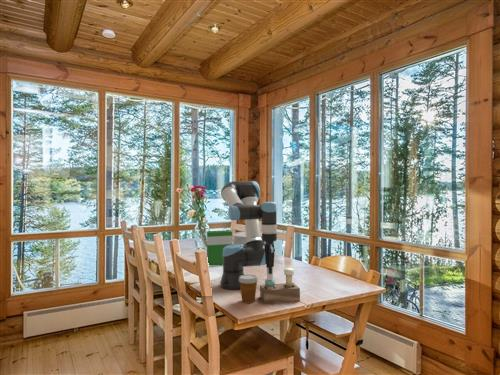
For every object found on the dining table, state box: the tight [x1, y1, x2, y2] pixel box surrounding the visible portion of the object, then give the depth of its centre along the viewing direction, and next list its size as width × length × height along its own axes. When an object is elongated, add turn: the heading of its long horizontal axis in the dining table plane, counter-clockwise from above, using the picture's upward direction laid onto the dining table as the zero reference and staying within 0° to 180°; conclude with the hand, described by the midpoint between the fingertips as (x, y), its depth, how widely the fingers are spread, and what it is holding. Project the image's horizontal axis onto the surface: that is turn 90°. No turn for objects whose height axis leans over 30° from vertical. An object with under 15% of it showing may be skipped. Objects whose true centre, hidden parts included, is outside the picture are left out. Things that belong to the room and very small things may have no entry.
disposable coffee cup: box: [239, 274, 259, 304], centre depth 169 cm, size 10×10×12 cm
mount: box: [259, 282, 301, 304], centre depth 172 cm, size 10×18×6 cm, turn 100°
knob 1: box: [264, 278, 276, 289], centre depth 171 cm, size 5×5×9 cm
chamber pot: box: [232, 229, 266, 246], centre depth 283 cm, size 28×28×21 cm
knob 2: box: [283, 267, 295, 288], centre depth 173 cm, size 5×5×9 cm
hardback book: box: [206, 229, 233, 266], centre depth 249 cm, size 18×7×24 cm, turn 104°
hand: (269, 279), depth 171 cm, fingers closed
